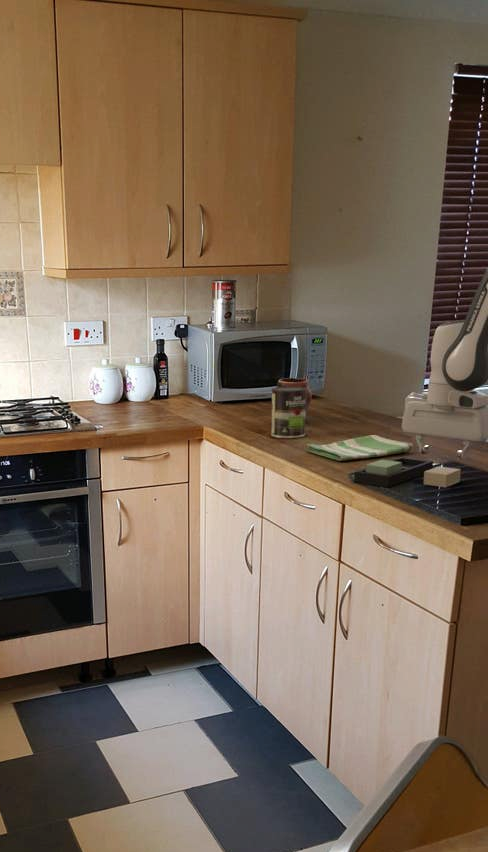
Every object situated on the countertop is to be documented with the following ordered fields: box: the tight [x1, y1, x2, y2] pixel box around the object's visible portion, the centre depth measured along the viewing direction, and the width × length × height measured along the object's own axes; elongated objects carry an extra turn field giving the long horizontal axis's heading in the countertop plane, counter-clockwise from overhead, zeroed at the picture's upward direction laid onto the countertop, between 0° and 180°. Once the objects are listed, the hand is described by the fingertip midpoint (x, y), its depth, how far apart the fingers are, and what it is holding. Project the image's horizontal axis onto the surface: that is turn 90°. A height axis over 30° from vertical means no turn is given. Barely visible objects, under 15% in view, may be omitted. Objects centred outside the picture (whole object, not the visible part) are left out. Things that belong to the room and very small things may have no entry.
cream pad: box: [423, 465, 462, 489], centre depth 202 cm, size 6×7×3 cm
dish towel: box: [306, 434, 414, 462], centre depth 238 cm, size 18×23×3 cm
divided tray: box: [353, 456, 434, 488], centre depth 210 cm, size 9×21×2 cm, turn 136°
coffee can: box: [270, 386, 307, 439], centre depth 263 cm, size 10×10×14 cm
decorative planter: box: [276, 377, 312, 417], centre depth 285 cm, size 20×12×14 cm, turn 10°
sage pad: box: [365, 459, 402, 475], centre depth 206 cm, size 6×7×3 cm
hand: (442, 456), depth 201 cm, fingers open, 8 cm apart
